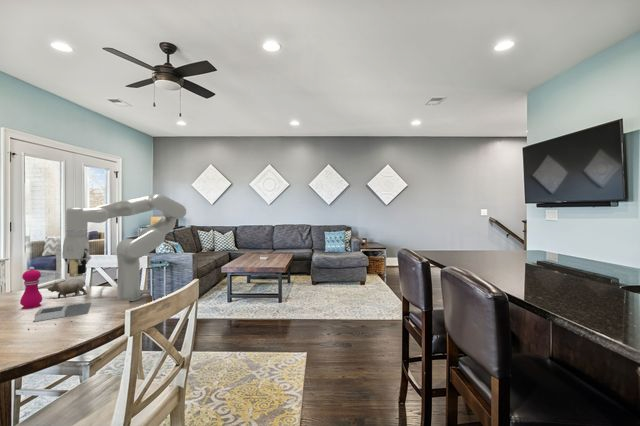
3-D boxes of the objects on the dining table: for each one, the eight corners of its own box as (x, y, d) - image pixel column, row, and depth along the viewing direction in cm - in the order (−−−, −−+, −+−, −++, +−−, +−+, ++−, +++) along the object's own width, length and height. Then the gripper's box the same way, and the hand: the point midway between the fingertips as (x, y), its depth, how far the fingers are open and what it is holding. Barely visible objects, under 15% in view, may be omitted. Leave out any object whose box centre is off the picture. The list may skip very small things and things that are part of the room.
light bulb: (84, 273, 134) (84, 257, 134) (82, 275, 130) (83, 258, 130) (70, 275, 131) (70, 257, 131) (68, 277, 127) (68, 259, 127)
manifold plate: (91, 305, 137) (91, 297, 137) (87, 317, 122) (87, 308, 122) (42, 312, 127) (43, 303, 127) (32, 326, 112) (32, 316, 112)
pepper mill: (27, 313, 125) (28, 268, 125) (15, 312, 127) (15, 267, 127) (46, 307, 133) (46, 265, 132) (34, 306, 134) (35, 264, 134)
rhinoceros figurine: (91, 291, 150) (70, 270, 147) (62, 310, 144) (40, 288, 140) (93, 289, 157) (73, 269, 153) (66, 307, 151) (45, 286, 147)
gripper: (52, 234, 128) (52, 274, 128) (84, 235, 125) (83, 276, 125) (70, 233, 135) (69, 270, 135) (100, 234, 132) (99, 272, 132)
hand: (76, 272), depth 130 cm, fingers closed on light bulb, 5 cm apart
